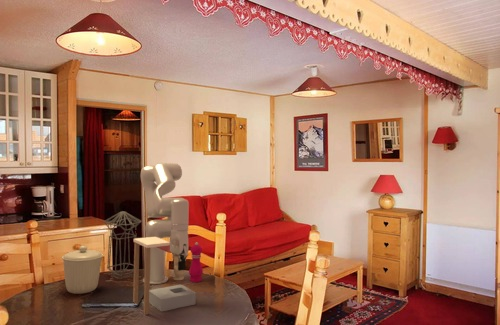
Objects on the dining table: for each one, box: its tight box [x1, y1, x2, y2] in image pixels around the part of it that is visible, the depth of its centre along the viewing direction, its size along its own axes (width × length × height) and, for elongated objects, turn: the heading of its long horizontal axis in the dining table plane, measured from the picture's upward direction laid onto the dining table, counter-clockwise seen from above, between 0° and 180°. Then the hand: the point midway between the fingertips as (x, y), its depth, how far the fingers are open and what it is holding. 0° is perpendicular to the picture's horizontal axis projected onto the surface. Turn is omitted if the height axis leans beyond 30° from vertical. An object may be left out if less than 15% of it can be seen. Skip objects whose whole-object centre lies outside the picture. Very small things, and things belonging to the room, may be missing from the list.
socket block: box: [149, 284, 197, 313], centre depth 172 cm, size 14×16×5 cm
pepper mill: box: [188, 241, 204, 283], centre depth 206 cm, size 7×7×20 cm
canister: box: [61, 245, 104, 295], centre depth 186 cm, size 18×18×21 cm
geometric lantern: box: [103, 210, 143, 280], centre depth 211 cm, size 16×16×35 cm
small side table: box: [132, 237, 171, 316], centre depth 166 cm, size 15×10×28 cm, turn 37°
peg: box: [173, 252, 185, 281], centre depth 174 cm, size 4×4×12 cm
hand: (179, 268), depth 174 cm, fingers closed on peg, 4 cm apart
